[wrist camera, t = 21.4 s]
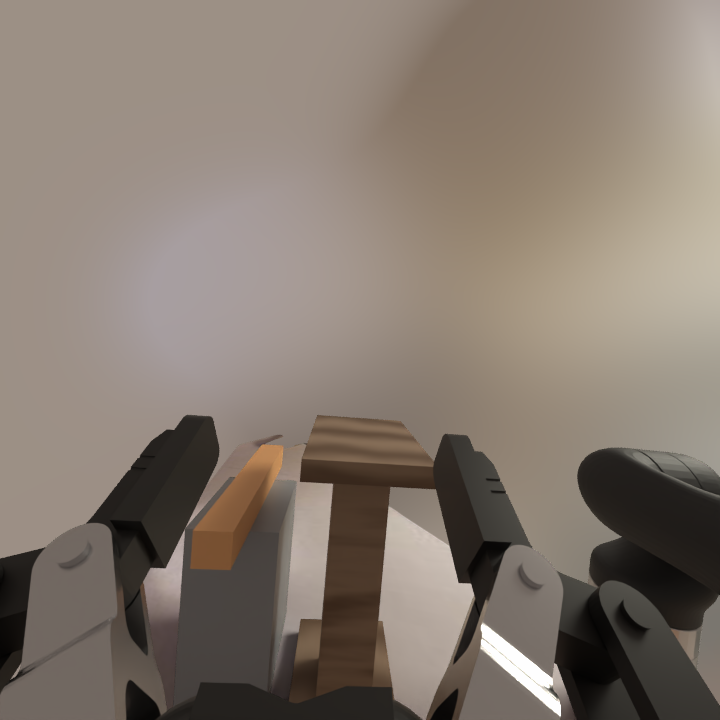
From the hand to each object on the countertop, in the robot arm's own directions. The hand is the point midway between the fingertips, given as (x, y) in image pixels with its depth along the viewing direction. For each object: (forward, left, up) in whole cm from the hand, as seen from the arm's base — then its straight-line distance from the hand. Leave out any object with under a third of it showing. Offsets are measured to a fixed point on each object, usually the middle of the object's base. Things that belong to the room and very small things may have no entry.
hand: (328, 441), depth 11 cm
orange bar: (-15, -26, -17) cm, 35 cm away
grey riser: (-16, -26, -38) cm, 49 cm away
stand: (-20, -12, -38) cm, 45 cm away
